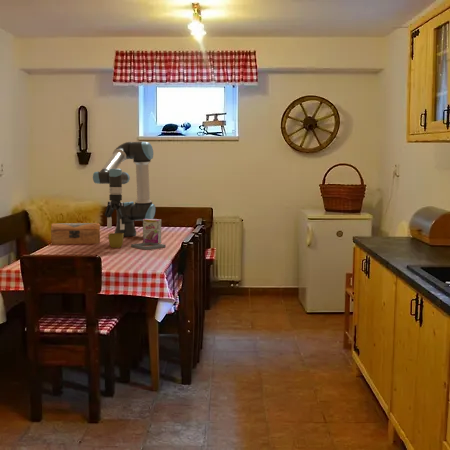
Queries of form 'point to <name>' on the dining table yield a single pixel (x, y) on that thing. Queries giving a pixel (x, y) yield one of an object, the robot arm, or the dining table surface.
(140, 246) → the plant tray
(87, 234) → the wooden box
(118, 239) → the flower pot
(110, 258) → the dining table surface
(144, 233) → the candy bar box
